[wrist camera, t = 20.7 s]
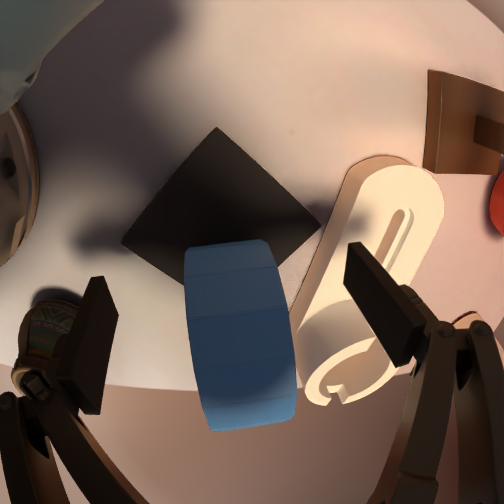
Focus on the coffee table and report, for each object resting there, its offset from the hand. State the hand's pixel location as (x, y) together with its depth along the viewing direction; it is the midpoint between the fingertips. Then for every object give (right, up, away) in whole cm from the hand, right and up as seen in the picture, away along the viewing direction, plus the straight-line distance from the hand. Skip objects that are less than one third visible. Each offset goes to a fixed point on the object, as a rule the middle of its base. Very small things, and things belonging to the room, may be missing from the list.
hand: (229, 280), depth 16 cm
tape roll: (0, -4, +2) cm, 4 cm away
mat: (-1, +3, +5) cm, 6 cm away
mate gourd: (-15, -4, +7) cm, 17 cm away
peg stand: (+15, +12, +3) cm, 19 cm away
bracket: (+10, 0, +9) cm, 14 cm away
